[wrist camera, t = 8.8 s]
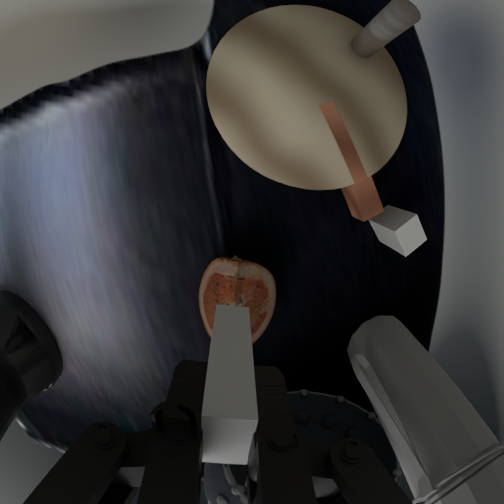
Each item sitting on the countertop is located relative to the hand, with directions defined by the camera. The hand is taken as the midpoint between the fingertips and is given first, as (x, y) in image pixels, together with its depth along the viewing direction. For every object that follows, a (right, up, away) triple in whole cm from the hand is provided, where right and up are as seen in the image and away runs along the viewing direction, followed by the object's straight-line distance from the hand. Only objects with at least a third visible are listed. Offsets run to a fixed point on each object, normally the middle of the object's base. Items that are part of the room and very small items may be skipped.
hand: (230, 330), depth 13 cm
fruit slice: (0, 0, +13) cm, 13 cm away
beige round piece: (+7, +16, +7) cm, 19 cm away
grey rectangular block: (+13, +6, +11) cm, 19 cm away
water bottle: (+14, -6, +15) cm, 21 cm away
